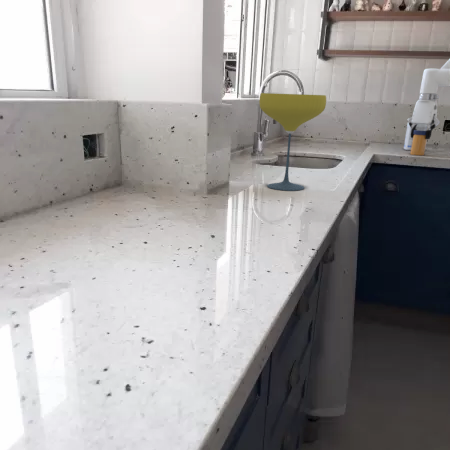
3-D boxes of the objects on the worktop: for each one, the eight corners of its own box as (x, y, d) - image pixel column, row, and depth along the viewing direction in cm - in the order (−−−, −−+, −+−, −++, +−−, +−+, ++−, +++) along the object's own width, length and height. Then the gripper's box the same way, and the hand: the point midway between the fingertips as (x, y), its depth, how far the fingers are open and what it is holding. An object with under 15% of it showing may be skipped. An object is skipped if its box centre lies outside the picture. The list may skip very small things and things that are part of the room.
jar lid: (431, 134, 230) (432, 130, 229) (423, 135, 225) (424, 131, 225) (417, 133, 234) (418, 129, 234) (410, 134, 230) (410, 129, 229)
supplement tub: (426, 151, 250) (432, 120, 245) (413, 151, 247) (418, 120, 241) (412, 148, 258) (417, 119, 253) (399, 149, 254) (404, 119, 249)
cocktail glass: (316, 195, 131) (327, 95, 121) (251, 190, 134) (256, 92, 124) (317, 184, 147) (326, 95, 138) (258, 180, 150) (263, 93, 140)
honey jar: (426, 155, 233) (431, 131, 229) (418, 155, 229) (423, 132, 225) (415, 153, 238) (419, 130, 233) (407, 154, 234) (411, 130, 230)
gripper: (449, 98, 220) (441, 139, 227) (414, 97, 232) (407, 136, 239) (441, 98, 215) (433, 140, 222) (406, 97, 227) (399, 137, 234)
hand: (420, 138), depth 231 cm, fingers closed on jar lid, 6 cm apart
